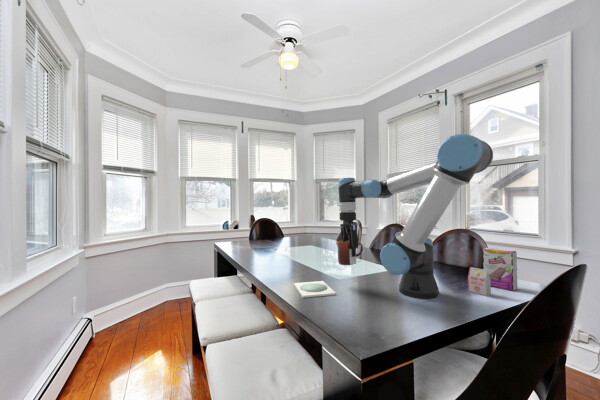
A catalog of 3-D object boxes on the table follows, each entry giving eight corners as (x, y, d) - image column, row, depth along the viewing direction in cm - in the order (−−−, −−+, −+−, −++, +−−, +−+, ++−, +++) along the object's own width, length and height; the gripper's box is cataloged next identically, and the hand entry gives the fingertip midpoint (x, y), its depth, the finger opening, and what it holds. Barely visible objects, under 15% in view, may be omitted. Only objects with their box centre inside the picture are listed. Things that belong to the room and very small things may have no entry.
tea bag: (473, 290, 112) (472, 266, 112) (490, 294, 106) (490, 269, 106) (468, 291, 110) (467, 267, 111) (485, 296, 104) (485, 270, 105)
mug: (337, 266, 116) (336, 242, 117) (336, 262, 125) (335, 240, 126) (364, 265, 115) (363, 242, 116) (362, 262, 124) (361, 239, 124)
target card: (335, 294, 109) (335, 292, 109) (302, 297, 106) (302, 295, 106) (322, 282, 127) (322, 280, 127) (294, 284, 124) (294, 282, 124)
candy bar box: (483, 285, 119) (481, 248, 119) (487, 283, 121) (486, 247, 122) (513, 291, 109) (512, 251, 110) (518, 289, 112) (516, 250, 113)
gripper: (332, 211, 131) (334, 258, 130) (348, 212, 111) (350, 267, 110) (346, 211, 132) (348, 257, 131) (365, 211, 112) (367, 266, 112)
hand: (349, 262), depth 121 cm, fingers closed on mug, 7 cm apart
